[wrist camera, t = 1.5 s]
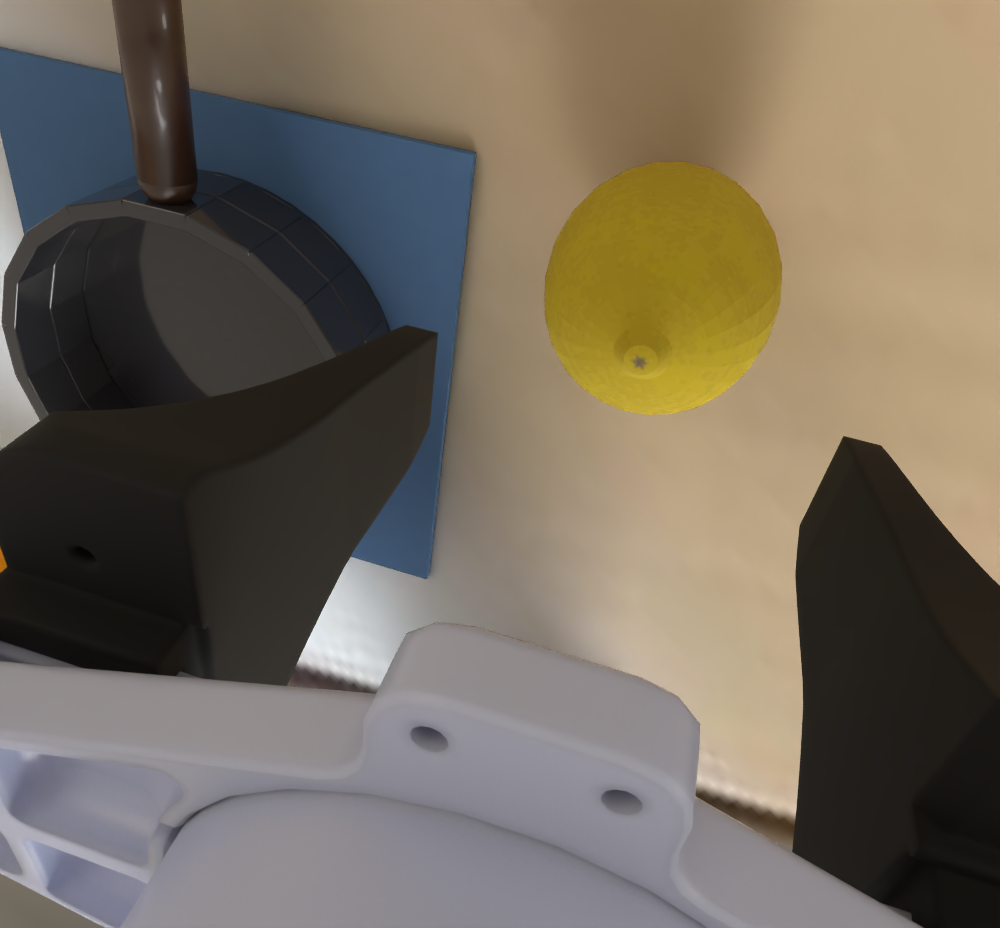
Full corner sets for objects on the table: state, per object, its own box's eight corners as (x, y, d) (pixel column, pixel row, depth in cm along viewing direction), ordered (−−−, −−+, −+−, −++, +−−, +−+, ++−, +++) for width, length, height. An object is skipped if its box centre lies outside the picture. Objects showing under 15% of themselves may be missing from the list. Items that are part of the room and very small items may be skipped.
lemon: (543, 194, 23) (458, 306, 17) (726, 86, 20) (709, 170, 14) (634, 352, 25) (589, 505, 19) (812, 273, 22) (830, 422, 16)
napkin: (429, 574, 33) (426, 579, 33) (84, 472, 35) (80, 475, 35) (476, 151, 23) (474, 154, 22) (-13, 43, 25) (-21, 45, 25)
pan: (393, 523, 32) (354, 588, 29) (111, 441, 34) (47, 494, 30) (415, 214, 24) (365, 258, 21) (49, 128, 26) (-44, 158, 23)
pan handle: (211, 202, 23) (179, 219, 22) (162, 191, 24) (128, 207, 22) (179, -181, 18) (134, -187, 17) (115, -191, 18) (68, -198, 17)
